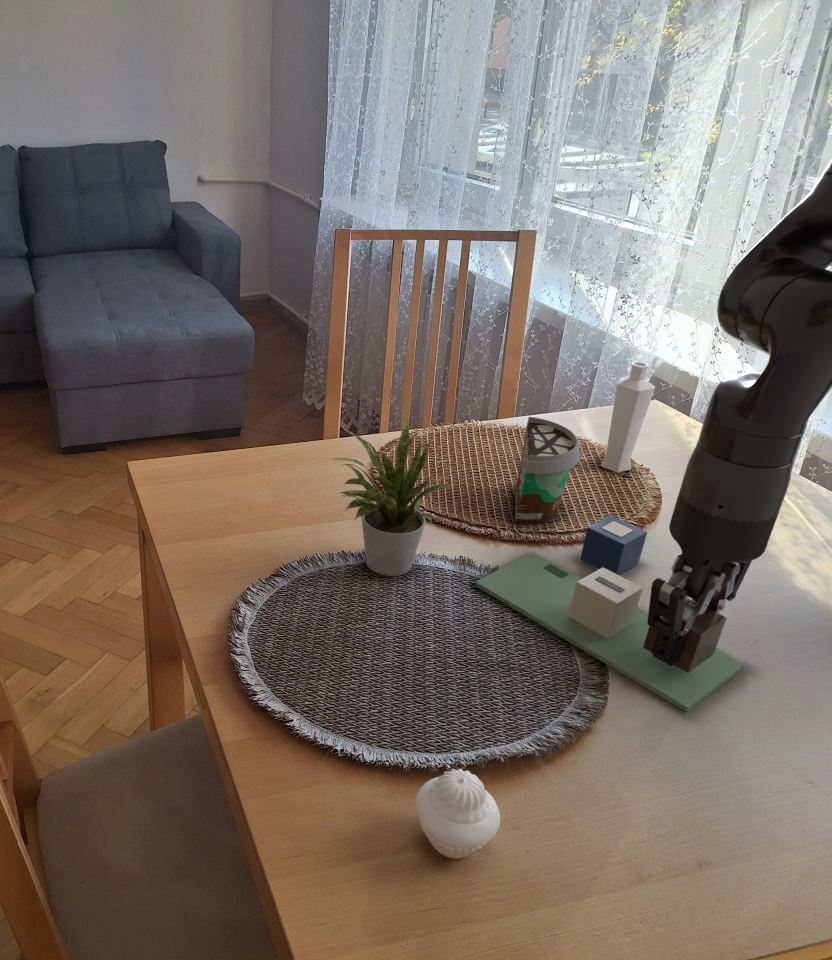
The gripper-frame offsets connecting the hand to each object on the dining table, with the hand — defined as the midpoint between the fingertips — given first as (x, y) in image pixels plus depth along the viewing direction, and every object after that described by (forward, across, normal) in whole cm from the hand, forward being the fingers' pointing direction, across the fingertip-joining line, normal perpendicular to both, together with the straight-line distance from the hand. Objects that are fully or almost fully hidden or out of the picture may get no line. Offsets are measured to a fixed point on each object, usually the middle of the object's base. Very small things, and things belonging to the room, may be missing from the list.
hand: (679, 648), depth 82 cm
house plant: (+3, -9, +30) cm, 31 cm away
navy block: (+2, +11, +14) cm, 18 cm away
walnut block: (0, 0, 0) cm, 0 cm away
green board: (+2, 0, +8) cm, 8 cm away
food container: (+2, +15, +26) cm, 30 cm away
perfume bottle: (+2, +33, +27) cm, 43 cm away
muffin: (+3, -33, -1) cm, 33 cm away
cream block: (+2, 0, +8) cm, 8 cm away
